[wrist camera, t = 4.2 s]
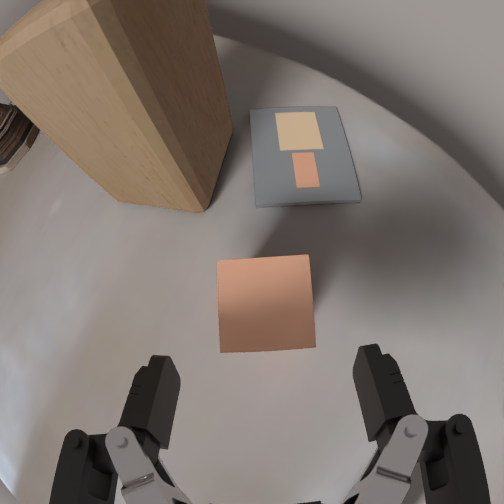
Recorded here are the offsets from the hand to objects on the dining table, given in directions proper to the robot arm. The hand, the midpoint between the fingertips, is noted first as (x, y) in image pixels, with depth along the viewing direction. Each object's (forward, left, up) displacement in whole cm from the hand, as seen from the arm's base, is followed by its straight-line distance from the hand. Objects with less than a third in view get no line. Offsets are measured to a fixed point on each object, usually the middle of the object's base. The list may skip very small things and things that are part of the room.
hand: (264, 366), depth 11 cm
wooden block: (+8, -17, -10) cm, 21 cm away
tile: (-4, -17, -9) cm, 20 cm away
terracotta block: (0, -3, -9) cm, 10 cm away
